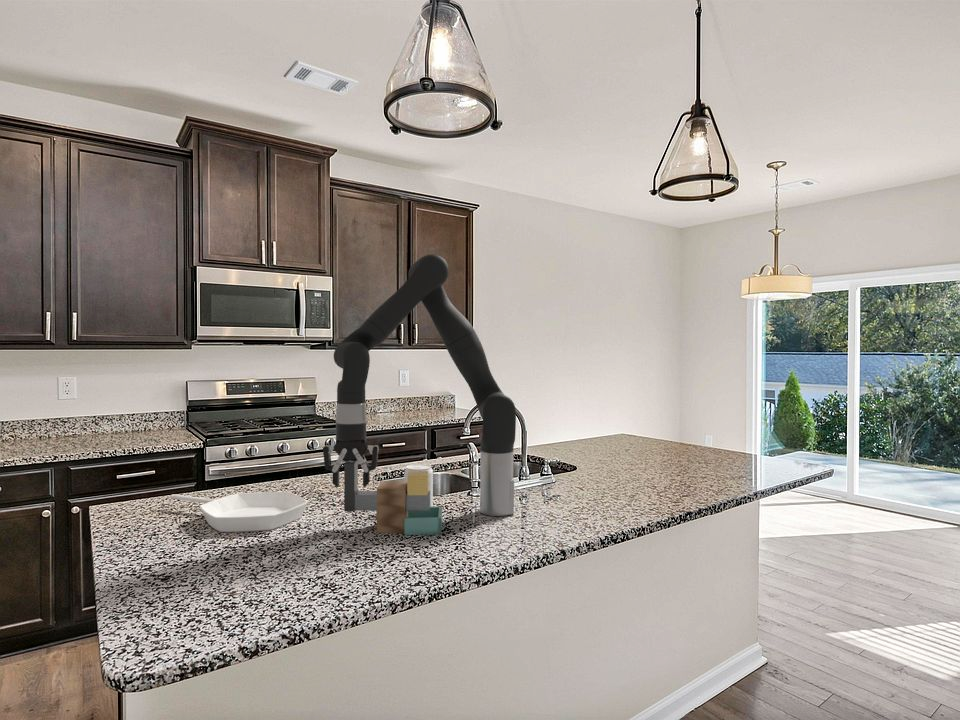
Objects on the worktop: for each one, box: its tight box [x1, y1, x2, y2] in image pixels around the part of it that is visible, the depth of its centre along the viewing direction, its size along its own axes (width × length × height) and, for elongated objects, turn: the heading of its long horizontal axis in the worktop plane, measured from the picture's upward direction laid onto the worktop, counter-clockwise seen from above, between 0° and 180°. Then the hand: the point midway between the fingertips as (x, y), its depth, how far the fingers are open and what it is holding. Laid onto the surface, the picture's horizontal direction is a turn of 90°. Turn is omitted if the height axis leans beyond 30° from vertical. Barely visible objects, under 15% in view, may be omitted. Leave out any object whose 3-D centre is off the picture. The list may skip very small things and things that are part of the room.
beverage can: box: [403, 463, 434, 506], centre depth 171 cm, size 8×8×12 cm
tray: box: [403, 505, 443, 536], centre depth 153 cm, size 9×11×4 cm
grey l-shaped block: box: [343, 461, 430, 512], centre depth 152 cm, size 21×5×12 cm, turn 92°
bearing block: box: [376, 480, 408, 534], centre depth 152 cm, size 7×8×11 cm
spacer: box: [408, 471, 429, 495], centre depth 153 cm, size 5×5×5 cm
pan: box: [169, 491, 309, 533], centre depth 162 cm, size 28×41×4 cm
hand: (351, 486), depth 152 cm, fingers open, 6 cm apart
